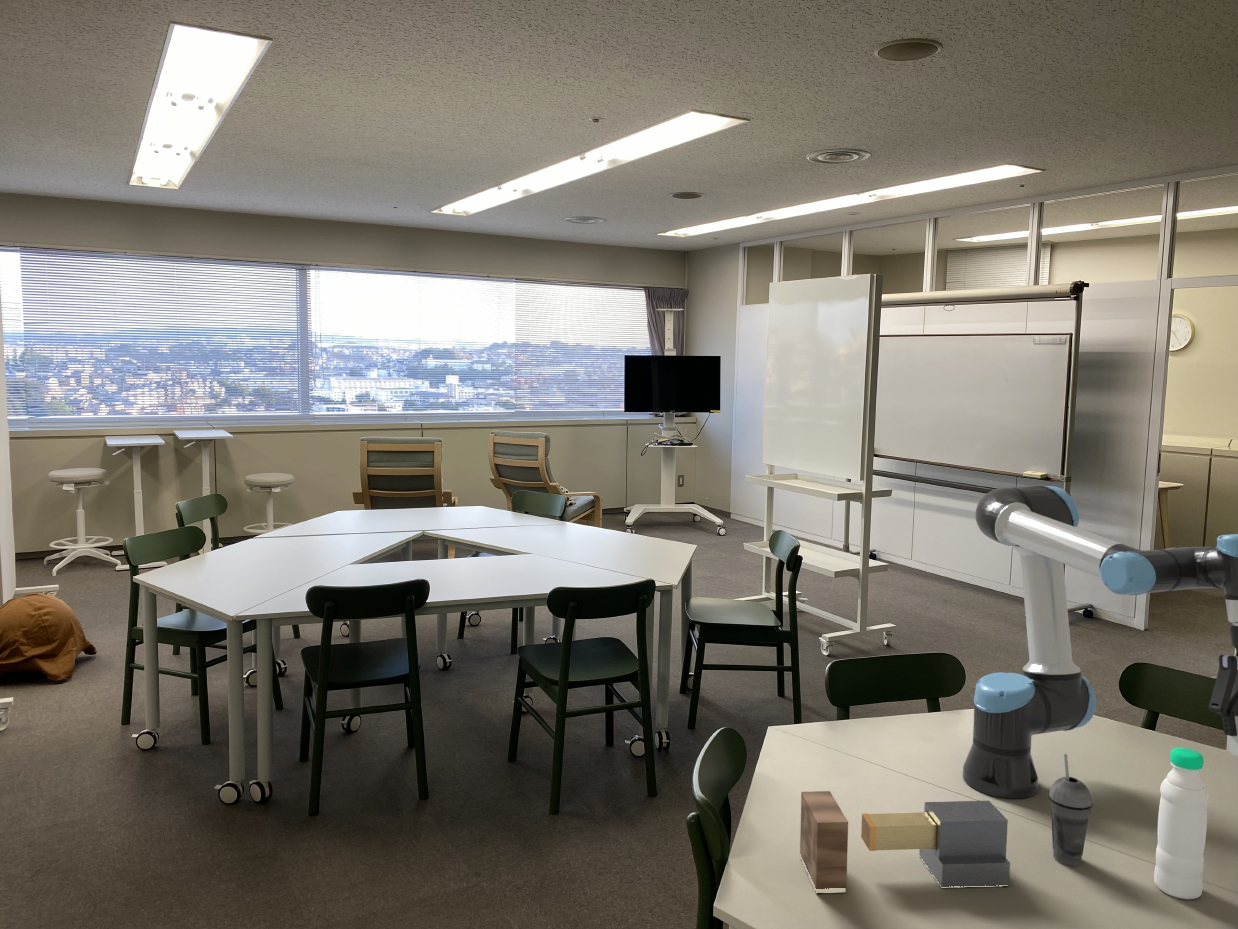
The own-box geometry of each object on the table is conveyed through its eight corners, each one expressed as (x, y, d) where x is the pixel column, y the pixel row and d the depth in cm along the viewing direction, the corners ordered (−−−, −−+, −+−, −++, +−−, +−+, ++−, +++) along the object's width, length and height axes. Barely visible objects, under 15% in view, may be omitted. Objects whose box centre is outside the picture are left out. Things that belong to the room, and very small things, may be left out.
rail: (861, 837, 157) (861, 813, 157) (980, 834, 158) (981, 810, 158) (869, 851, 153) (870, 826, 152) (991, 847, 154) (992, 823, 153)
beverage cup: (1087, 875, 155) (1094, 768, 153) (1042, 862, 159) (1048, 758, 157) (1090, 855, 162) (1096, 753, 159) (1047, 844, 165) (1052, 744, 163)
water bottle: (1186, 906, 146) (1196, 764, 144) (1144, 884, 153) (1154, 748, 150) (1210, 894, 150) (1221, 755, 147) (1168, 873, 156) (1178, 740, 153)
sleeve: (919, 857, 161) (921, 798, 160) (982, 855, 162) (985, 796, 161) (941, 889, 151) (944, 826, 150) (1008, 887, 152) (1011, 824, 151)
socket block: (799, 858, 161) (801, 791, 159) (828, 858, 161) (829, 791, 160) (815, 894, 150) (817, 822, 148) (846, 893, 150) (848, 822, 149)
